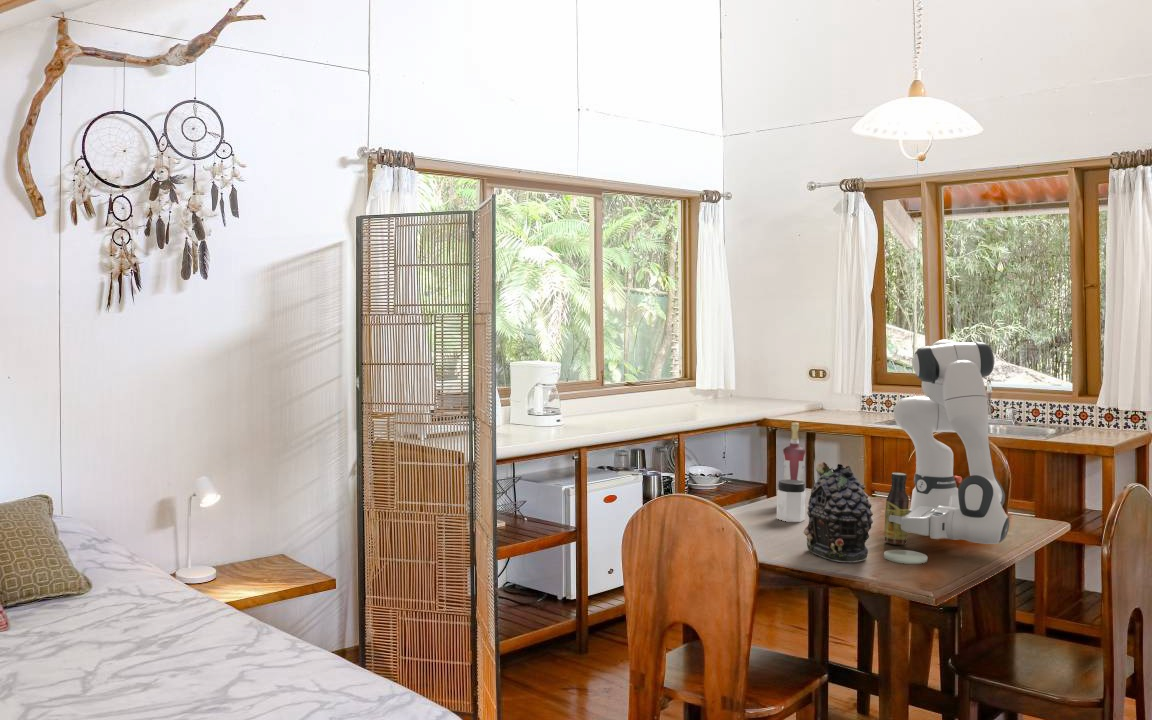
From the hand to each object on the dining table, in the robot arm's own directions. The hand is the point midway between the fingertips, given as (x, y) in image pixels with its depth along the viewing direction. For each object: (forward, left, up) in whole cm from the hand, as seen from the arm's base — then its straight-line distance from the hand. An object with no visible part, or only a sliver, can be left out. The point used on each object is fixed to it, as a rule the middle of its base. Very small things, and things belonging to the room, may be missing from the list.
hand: (893, 515), depth 271 cm
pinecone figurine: (+24, +2, -8) cm, 25 cm away
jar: (+4, -37, -8) cm, 38 cm away
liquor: (-12, -53, -8) cm, 55 cm away
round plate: (+10, +13, -8) cm, 18 cm away
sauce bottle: (0, +1, -8) cm, 8 cm away
